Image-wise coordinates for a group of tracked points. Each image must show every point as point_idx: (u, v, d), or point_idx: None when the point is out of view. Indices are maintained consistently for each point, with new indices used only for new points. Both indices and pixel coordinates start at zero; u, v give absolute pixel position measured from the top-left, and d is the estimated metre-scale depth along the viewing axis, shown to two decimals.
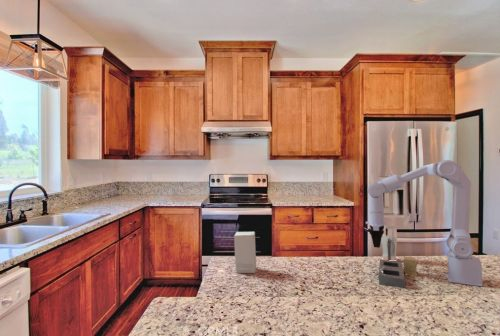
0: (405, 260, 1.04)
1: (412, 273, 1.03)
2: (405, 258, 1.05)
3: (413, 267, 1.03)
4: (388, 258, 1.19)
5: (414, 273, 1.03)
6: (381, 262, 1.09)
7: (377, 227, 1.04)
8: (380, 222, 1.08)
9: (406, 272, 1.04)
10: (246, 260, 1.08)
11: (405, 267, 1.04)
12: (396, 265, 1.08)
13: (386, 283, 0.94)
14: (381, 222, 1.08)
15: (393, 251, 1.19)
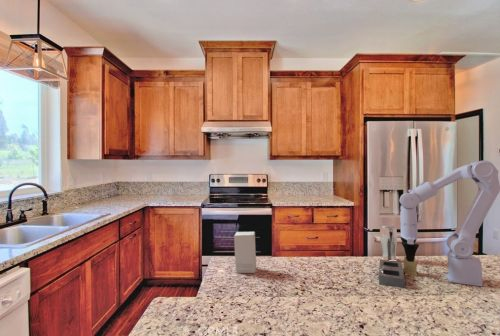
0: (405, 260, 1.04)
1: (412, 273, 1.03)
2: (405, 258, 1.05)
3: (413, 267, 1.03)
4: (388, 258, 1.19)
5: (414, 273, 1.03)
6: (381, 262, 1.09)
7: (412, 241, 0.99)
8: (414, 235, 1.02)
9: (406, 272, 1.04)
10: (246, 260, 1.08)
11: (405, 267, 1.04)
12: (396, 265, 1.08)
13: (386, 283, 0.94)
14: (415, 235, 1.03)
15: (393, 251, 1.19)
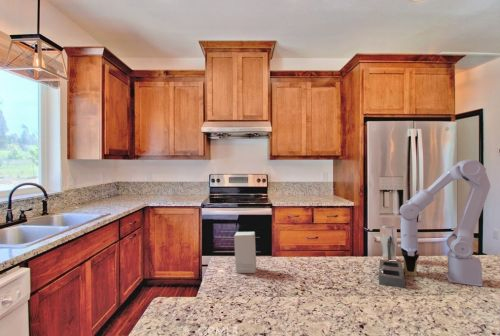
0: None
1: (412, 273, 1.03)
2: None
3: None
4: (388, 258, 1.19)
5: (414, 273, 1.03)
6: (381, 262, 1.09)
7: (412, 252, 0.98)
8: (414, 246, 1.02)
9: (406, 272, 1.04)
10: (246, 260, 1.08)
11: (405, 267, 1.04)
12: (396, 265, 1.08)
13: (386, 283, 0.94)
14: (415, 246, 1.02)
15: (393, 251, 1.19)
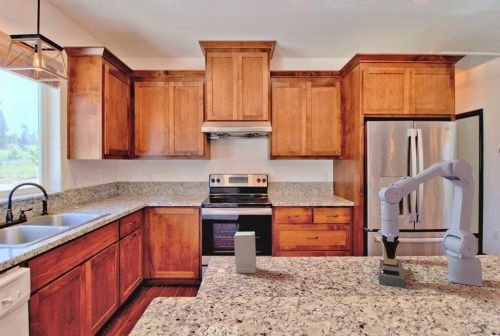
0: (384, 248, 0.97)
1: (392, 262, 0.96)
2: None
3: None
4: None
5: (394, 262, 0.96)
6: (381, 262, 1.09)
7: (392, 238, 0.92)
8: (395, 232, 0.96)
9: (386, 261, 0.97)
10: (246, 260, 1.08)
11: (385, 255, 0.97)
12: (396, 265, 1.08)
13: (386, 283, 0.94)
14: (396, 232, 0.96)
15: None
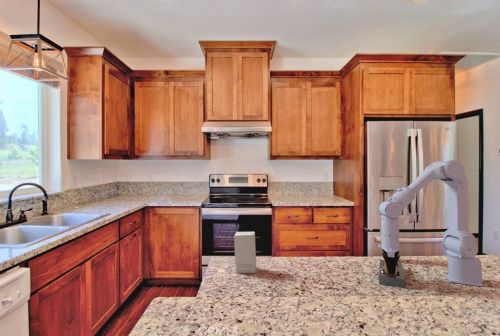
0: (385, 263, 0.97)
1: None
2: None
3: None
4: None
5: None
6: (381, 262, 1.09)
7: (392, 253, 0.92)
8: (395, 247, 0.96)
9: None
10: (246, 260, 1.08)
11: (385, 270, 0.97)
12: None
13: (386, 283, 0.94)
14: (396, 247, 0.96)
15: None
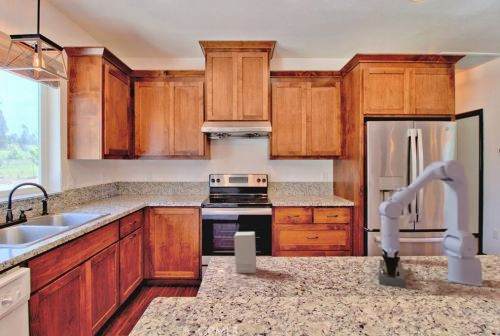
0: (385, 266, 0.97)
1: None
2: (385, 264, 0.98)
3: None
4: None
5: None
6: (381, 262, 1.09)
7: (392, 253, 0.92)
8: (395, 247, 0.96)
9: None
10: (246, 260, 1.08)
11: None
12: None
13: (386, 283, 0.94)
14: (396, 247, 0.96)
15: None
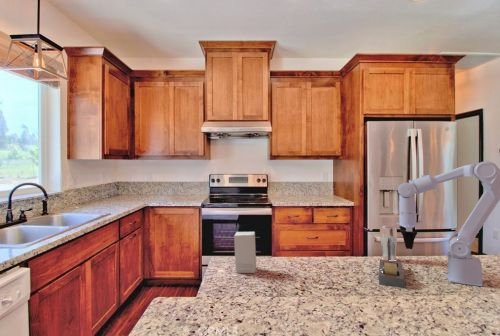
0: (385, 266, 0.97)
1: None
2: (385, 264, 0.98)
3: (394, 274, 0.96)
4: (388, 258, 1.19)
5: None
6: (381, 262, 1.09)
7: (410, 228, 1.01)
8: (412, 223, 1.05)
9: None
10: (246, 260, 1.08)
11: None
12: None
13: (386, 283, 0.94)
14: (413, 223, 1.05)
15: (393, 251, 1.19)
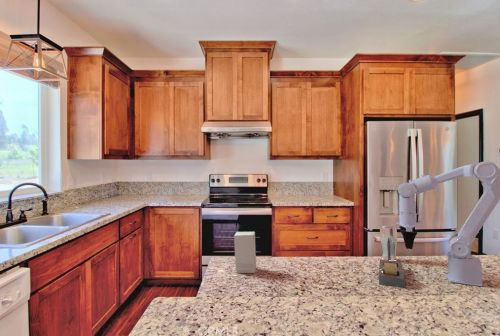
0: (385, 266, 0.97)
1: None
2: (385, 264, 0.98)
3: (394, 274, 0.96)
4: (388, 258, 1.19)
5: None
6: (381, 262, 1.09)
7: (410, 228, 1.01)
8: (412, 223, 1.05)
9: None
10: (246, 260, 1.08)
11: None
12: None
13: (386, 283, 0.94)
14: (413, 223, 1.05)
15: (393, 251, 1.19)
